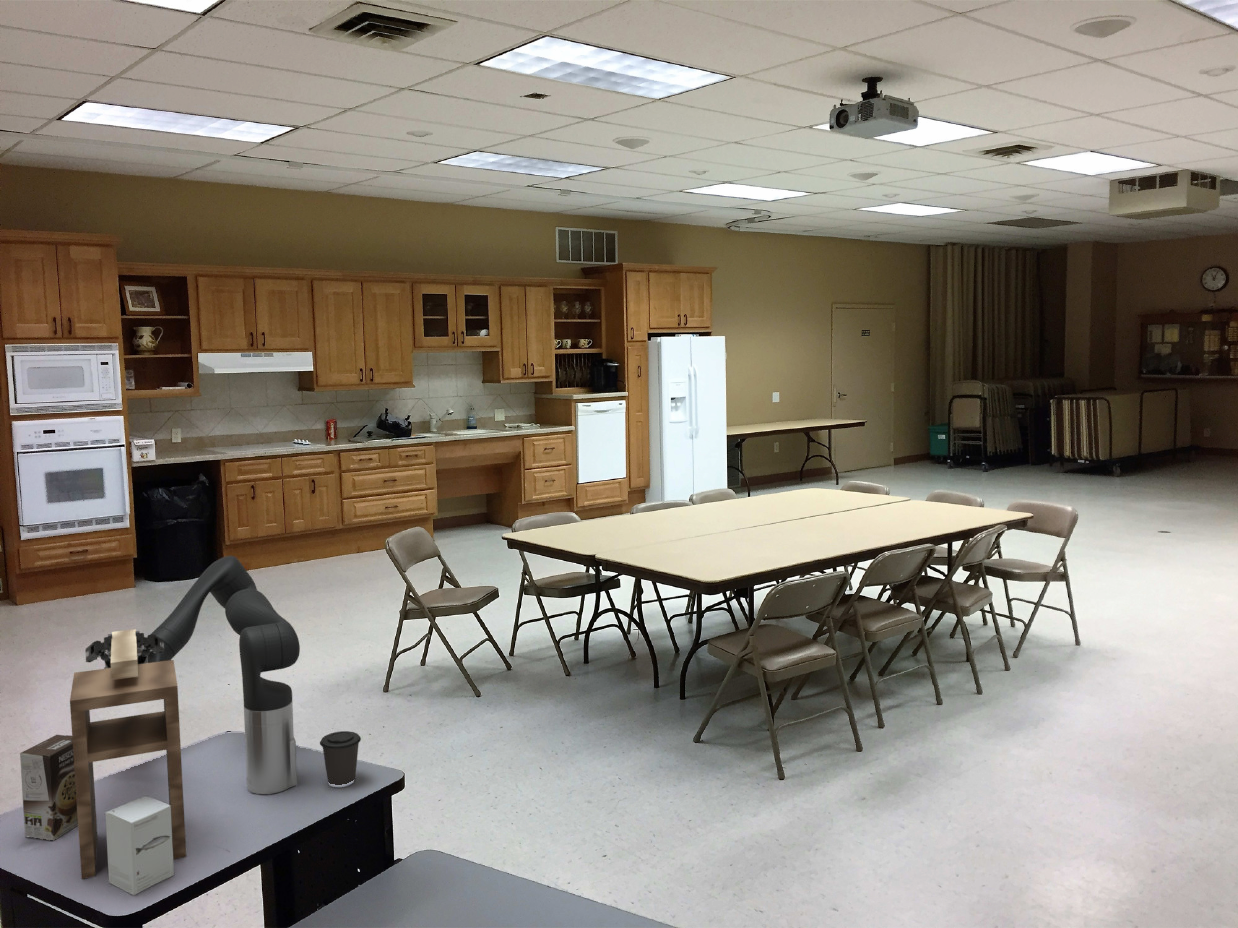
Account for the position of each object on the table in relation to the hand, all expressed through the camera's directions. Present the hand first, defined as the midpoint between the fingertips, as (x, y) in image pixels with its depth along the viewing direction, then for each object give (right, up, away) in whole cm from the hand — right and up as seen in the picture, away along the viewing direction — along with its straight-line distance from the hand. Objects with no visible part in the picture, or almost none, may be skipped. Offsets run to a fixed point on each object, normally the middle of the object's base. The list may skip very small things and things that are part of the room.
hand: (123, 637), depth 177 cm
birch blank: (+2, -3, -4) cm, 6 cm away
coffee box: (-13, -36, +2) cm, 38 cm away
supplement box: (+11, -38, -15) cm, 42 cm away
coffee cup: (+34, -33, +21) cm, 52 cm away
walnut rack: (+5, -36, -5) cm, 37 cm away
